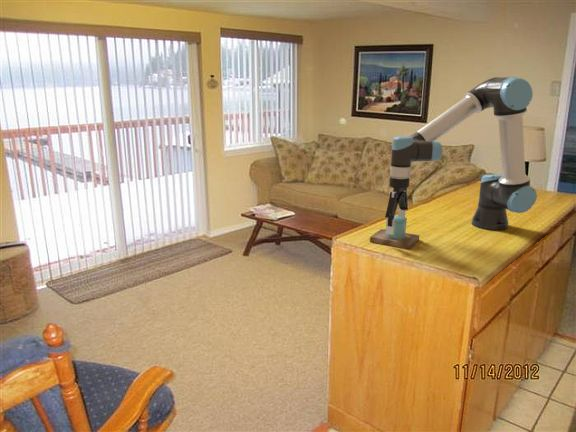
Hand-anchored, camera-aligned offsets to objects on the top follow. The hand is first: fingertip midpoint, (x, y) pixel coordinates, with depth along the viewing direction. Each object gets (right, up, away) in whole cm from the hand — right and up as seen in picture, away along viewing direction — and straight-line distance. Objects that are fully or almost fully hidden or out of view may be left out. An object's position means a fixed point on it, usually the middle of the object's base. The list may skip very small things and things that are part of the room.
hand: (395, 229), depth 192 cm
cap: (0, -3, +1) cm, 3 cm away
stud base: (0, -5, +1) cm, 5 cm away
